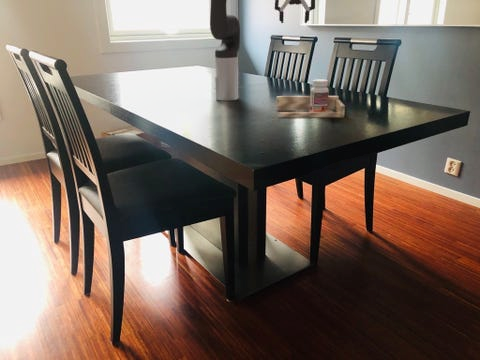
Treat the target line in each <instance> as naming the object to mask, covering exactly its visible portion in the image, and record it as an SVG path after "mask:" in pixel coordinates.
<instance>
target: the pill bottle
mask: <svg viewBox="0 0 480 360" xmlns="http://www.w3.org/2000/svg"><path fill="white" fill-rule="evenodd" d="M328 82H329V80H328V79H323V78H320V79H319V78H317V79H313V80H312V86H313V87H311V89H310V96H311V98H310V112H327V107H328V96H329V94H330V93H329V88H328V87H327V86H328Z"/></svg>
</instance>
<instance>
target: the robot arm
mask: <svg viewBox="0 0 480 360" xmlns="http://www.w3.org/2000/svg"><path fill="white" fill-rule="evenodd" d="M227 1H228V0H210V9H209V10H210V11H209V12H210V13H209V15H210V16H209V30H210V33H211V35H212V37H213V38H214V39H215V40H217V41H221V44H220V45H219V46H218V48H216V49H215V51H214V57H215V58H214V59H215V60H214V61H215V77H214V78H215V100H216V101H223V102H225V101H226V102H228V101H236V100H238V99H239V66H238V64H239V63H238V62H239V61H238V60H239V59H238V58H239V57H238V55H239V51H240V43H241V42H240V41H241V26H240V21H239V19H238V17H236V16H235V15H233V14H227ZM279 1H280V0H274V10H275V11H278V12H279V13H278V14H279V15H278V16H279V19H278V20H279V22H280V24H284V17H285V16H284V15H285V13H284V10H285V9H286V7H287V6H288V5H291V6H292V5H293V6H294V5H298V6H299V5H301V6H302V7H303V8H304V10H305V11H304V24H307V23H308V22H309V21H310V12H311V11H313V10H315V9H316V0H310V6H309V5H308V3H307V1H306V0H285V1H284V3H283V4H282V5H281V6H279Z"/></svg>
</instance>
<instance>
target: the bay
mask: <svg viewBox="0 0 480 360" xmlns="http://www.w3.org/2000/svg"><path fill="white" fill-rule="evenodd" d="M310 98H311V95H279V96H278V95H277V96H276V103H275V104H276V111H280V112H277V118H345V113H346V112H345V108H346V105H345V104H344V103H343V102H342V101H341V100H340V98H339V95H328V107H327V110H333V112H308V110H310ZM282 111H284V112H282ZM285 111H287V112H285ZM288 111H289V112H288ZM290 111H291V112H290ZM293 111H296V112H293ZM297 111H299V112H297ZM304 111H305V112H304Z"/></svg>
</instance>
